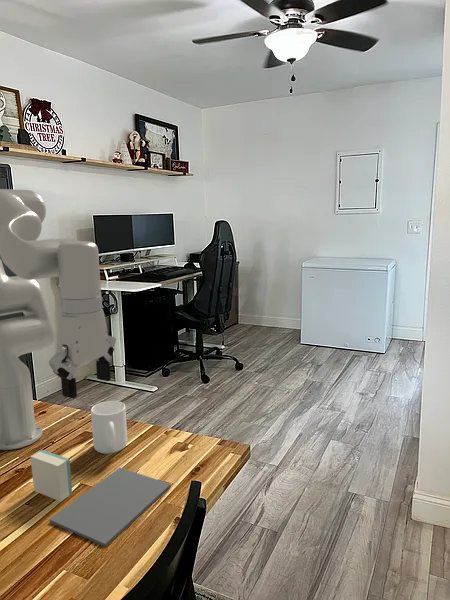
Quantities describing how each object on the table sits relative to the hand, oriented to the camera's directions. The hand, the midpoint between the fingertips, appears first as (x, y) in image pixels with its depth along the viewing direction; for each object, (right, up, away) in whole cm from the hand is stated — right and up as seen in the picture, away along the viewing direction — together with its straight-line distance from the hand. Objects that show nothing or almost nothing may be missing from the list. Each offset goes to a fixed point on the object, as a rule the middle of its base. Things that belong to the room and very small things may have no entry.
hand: (87, 387), depth 92 cm
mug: (0, -19, +21) cm, 28 cm away
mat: (+5, -23, 0) cm, 24 cm away
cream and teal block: (-8, -23, +4) cm, 25 cm away
